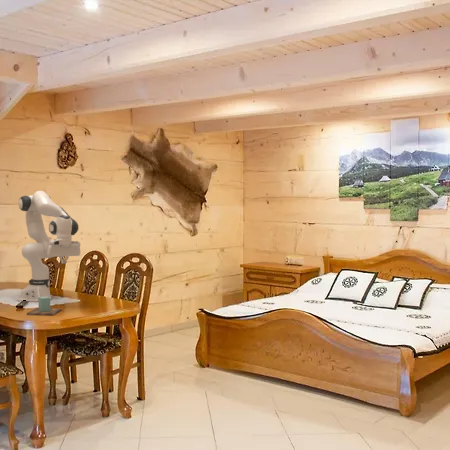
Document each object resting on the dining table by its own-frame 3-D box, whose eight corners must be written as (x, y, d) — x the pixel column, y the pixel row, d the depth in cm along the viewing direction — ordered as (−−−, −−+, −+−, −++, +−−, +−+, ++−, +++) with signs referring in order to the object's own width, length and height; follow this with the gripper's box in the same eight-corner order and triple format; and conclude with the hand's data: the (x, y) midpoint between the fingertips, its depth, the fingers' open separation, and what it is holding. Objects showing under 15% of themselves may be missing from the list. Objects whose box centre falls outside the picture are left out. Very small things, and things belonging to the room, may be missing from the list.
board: (26, 315, 358) (26, 304, 358) (35, 309, 374) (35, 300, 374) (53, 315, 358) (53, 305, 358) (61, 310, 374) (61, 300, 374)
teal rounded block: (41, 311, 362) (41, 298, 362) (38, 310, 367) (38, 296, 367) (50, 310, 365) (49, 297, 364) (47, 309, 370) (46, 295, 369)
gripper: (78, 240, 387) (78, 262, 388) (46, 241, 376) (46, 263, 377) (82, 241, 382) (81, 263, 383) (49, 242, 371) (49, 264, 372)
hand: (64, 263), depth 380 cm, fingers closed
